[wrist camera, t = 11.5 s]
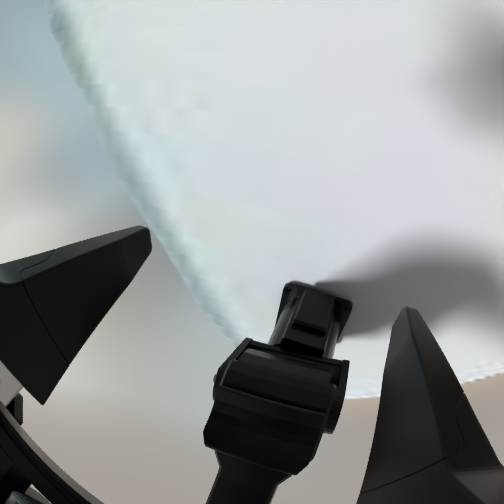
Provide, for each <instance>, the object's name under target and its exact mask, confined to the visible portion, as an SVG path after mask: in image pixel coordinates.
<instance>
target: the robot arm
mask: <svg viewBox="0 0 504 504" xmlns="http://www.w3.org/2000/svg"><path fill="white" fill-rule="evenodd" d="M151 250H152V243H151V235H150V230H149V229H148V228H147V227H144V226H135V227H131V228H127V229H123V230H119V231H115V232H112V233H108V234H104V235H101V236H97V237H94V238H90V239H87V240H83V241H80V242H77V243H73V244H70V245H66V246H63V247H60V248H57V249H53V250H50V251H46V252H43V253H40V254H37V255H33V256H29V257H26V258H22V259H18V260H14V261H11V262H7V263H4V264H0V504H50V503H49V502H48V501H50V502H51V503H52V504H104V503H102V502H101V501H100V500H98V499H97V498H96V497H94V496H93V495H92V494H90V493H89V492H88V491H87V490H85V489H84V488H83V487H82V486H80V485H79V484H78V483H77V482H76V481H74V480H73V479H72V478H71V477H70V476H69V475H67V474H66V473H65V472H64V471H63V470H62V469H61V468H60V467H59V466H58V465H57V464H56V463H55V462H53V461H52V460H51V459H50V458H49V457H48V456H47V455H46V454H45V453H44V452H43V451H42V450H41V448H40V447H38V445H37V444H36V443H35V442H34V441H33V440H32V439H31V438H30V437H29V435H28V434H27V433H26V432H25V431H24V430H23V428H22V427H21V424H22V423H23V397H22V395H21V394H20V393H19V391H20V390H21V389H22V388H23V387H24V388H25V389H26V390H27V391H28V392H29V393H30V394H31V395H32V396H33V397H34V398H35V399H36V400H37V401H38V402H39V403H40V404H41V405H44V404H45V402H46V401H47V399H48V397H49V396H50V394H51V393H52V391H53V390H54V388H55V386H56V385H57V383H58V382H59V380H60V379H61V377H62V376H63V374H64V373H65V371H66V370H67V368H68V367H69V364H71V362H72V361H73V359H74V358H75V356H76V355H77V353H78V352H79V351H80V349H81V348H82V346H83V345H84V344H85V342H86V341H87V339H88V338H89V337H90V335H91V334H92V332H93V331H94V330H95V328H96V327H97V326H98V324H99V323H100V322H101V320H102V319H103V318H104V316H105V315H106V314H107V312H108V311H109V309H110V308H111V307H112V306H113V305H114V303H115V302H116V301H117V299H118V298H119V297H120V296H121V294H122V293H123V292H124V290H125V289H126V288H127V287H128V285H129V284H130V283H131V281H132V280H133V278H134V277H135V275H136V274H137V272H138V270H139V269H140V268H141V266H142V265H143V263H144V262H145V260H146V259H147V257H148V256H149V254H150V253H151ZM288 288H290V289H291V290H289V289H288ZM345 306H349V307H345ZM352 306H353V304H352V303H351V302H350V301H347V300H344V299H340V298H337V297H334V296H330V295H327V294H324V293H320V292H317V291H314V290H311V289H307V288H304V287H301V286H297V285H294V284H291V283H287V284H285V286H284V288H283V293H282V298H281V302H280V307H279V311H278V316H277V320H276V325H275V329H274V331H273V333H272V335H271V338H270V340H269V342H268V344H265V343H261V342H257V341H254V340H253V339H250V338H247V337H246V338H245V339H244V341H243V342H242V343H241V344H240V345H239V346H238V347H237V348H236V349H235V350H234V352H233V353H232V354H231V355H230V356H229V357H228V358H227V360H226V361H225V362H224V363H223V364H222V365H221V366H220V367H219V369H218V372H217V374H216V375H215V376H214V379H213V381H214V388H213V400H214V405H213V408H212V411H211V414H210V416H209V419H208V421H207V423H206V426H205V428H204V431H203V435H204V444H205V446H206V447H209V448H211V449H214V450H215V454H216V457H217V460H218V464H219V471H218V474H217V476H216V479H215V482H214V484H213V487H212V489H211V492H210V494H209V497H208V499H207V502H206V504H271V501H272V499H273V497H274V495H275V492H276V490H277V488H278V485H279V484H280V483H282V482H283V481H285V480H286V479H288V478H289V477H290V476H292V475H297V474H298V473H299V472H300V471H302V470H303V469H304V468H305V467H306V466H307V465H308V464H309V462H310V461H311V460H312V459H313V458H314V456H315V454H316V451H317V448H318V446H319V443H320V440H321V437H322V434H323V433H327V434H332V433H333V431H334V429H335V427H336V424H337V422H338V419H339V415H340V412H341V409H342V405H343V401H344V397H345V392H346V385H347V378H348V371H349V363H350V361H348V360H343V361H342V360H337V359H332V358H333V354H334V350H335V346H336V342H337V340H338V338H339V336H340V334H341V332H342V330H343V328H344V326H345V324H346V322H347V319H348V317H349V315H350V313H351V311H352ZM463 393H464V391H463V389H462V387H461V385H460V383H459V381H458V379H457V377H456V375H455V374H454V372H453V370H452V368H451V366H450V364H449V362H448V361H447V359H446V357H445V355H444V353H443V352H442V350H441V348H440V346H439V345H438V343H437V341H436V340H435V338H434V336H433V335H432V333H431V331H430V330H429V328H428V326H427V325H426V323H425V321H424V320H423V318H422V317H421V315H420V314H419V312H418V311H417V309H415V308H411V307H408V306H406V307H404V308H403V310H402V311H401V313H400V315H399V316H398V318H397V320H396V321H395V323H394V325H393V328H392V332H391V337H390V343H389V348H388V353H387V358H386V363H385V368H384V373H383V381H382V389H381V397H380V404H379V410H378V416H377V422H376V428H375V433H374V438H373V443H372V448H371V452H370V456H369V461H368V465H367V469H366V473H365V477H364V480H363V484H362V487H361V491H360V494H359V497H358V500H357V504H504V466H503V465H502V464H501V463H500V461H499V460H498V458H497V456H496V454H495V452H494V450H493V448H492V446H491V444H490V442H489V440H488V438H487V436H486V434H485V433H484V431H483V429H482V427H481V425H480V423H479V421H478V419H477V417H476V415H475V413H474V411H473V409H472V407H471V405H470V403H469V401H468V399H467V397H466V395H465V394H463ZM31 484H33V485H34V486H35V488H36V489H37V490H39V492H40V493H41V494H42V495H44V497H45V498H46V499H45V498H44V497H43V496H42V495H41V494H40V493H38V492H37V491H35V490H33V489H32V488H31V487H30V485H31ZM47 500H48V501H47Z"/></svg>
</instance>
